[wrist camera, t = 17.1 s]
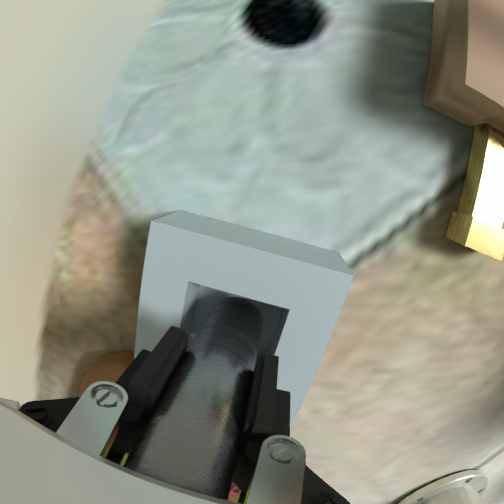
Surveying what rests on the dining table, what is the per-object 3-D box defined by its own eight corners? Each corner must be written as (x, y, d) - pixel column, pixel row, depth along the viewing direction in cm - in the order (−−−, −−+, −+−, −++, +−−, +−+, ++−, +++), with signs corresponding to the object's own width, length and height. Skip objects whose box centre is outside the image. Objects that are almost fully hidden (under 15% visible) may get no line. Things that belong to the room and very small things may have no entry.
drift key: (480, 250, 16) (501, 260, 13) (445, 236, 16) (464, 245, 14) (510, 79, 13) (531, 72, 10) (477, 58, 13) (496, 47, 11)
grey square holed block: (291, 384, 19) (290, 426, 15) (157, 346, 19) (132, 380, 16) (339, 253, 17) (353, 275, 13) (180, 210, 17) (150, 220, 13)
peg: (254, 352, 16) (196, 604, 4) (203, 337, 16) (88, 566, 4) (269, 305, 15) (213, 593, 3) (213, 290, 15) (63, 538, 3)
